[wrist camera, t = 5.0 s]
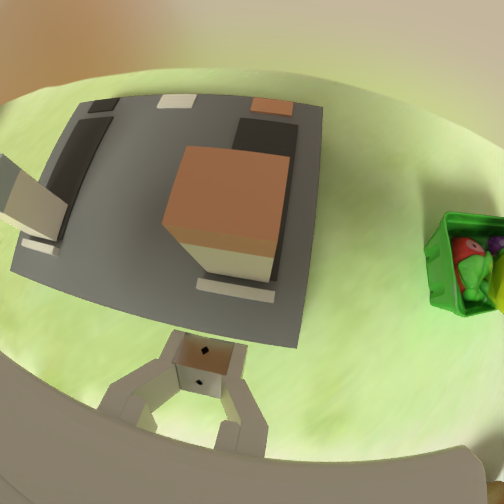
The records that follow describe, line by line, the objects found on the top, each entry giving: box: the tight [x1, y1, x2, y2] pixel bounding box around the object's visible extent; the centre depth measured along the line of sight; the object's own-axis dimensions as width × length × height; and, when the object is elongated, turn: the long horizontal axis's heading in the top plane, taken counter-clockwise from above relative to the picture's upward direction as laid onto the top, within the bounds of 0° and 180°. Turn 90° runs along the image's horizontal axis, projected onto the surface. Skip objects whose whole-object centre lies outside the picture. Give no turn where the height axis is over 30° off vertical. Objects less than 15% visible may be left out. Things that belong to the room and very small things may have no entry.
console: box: [10, 94, 323, 349], centre depth 20 cm, size 24×18×5 cm
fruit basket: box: [424, 212, 504, 317], centre depth 14 cm, size 11×9×11 cm
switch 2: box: [162, 146, 290, 283], centre depth 12 cm, size 4×3×8 cm
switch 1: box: [0, 154, 68, 241], centre depth 13 cm, size 4×3×8 cm
